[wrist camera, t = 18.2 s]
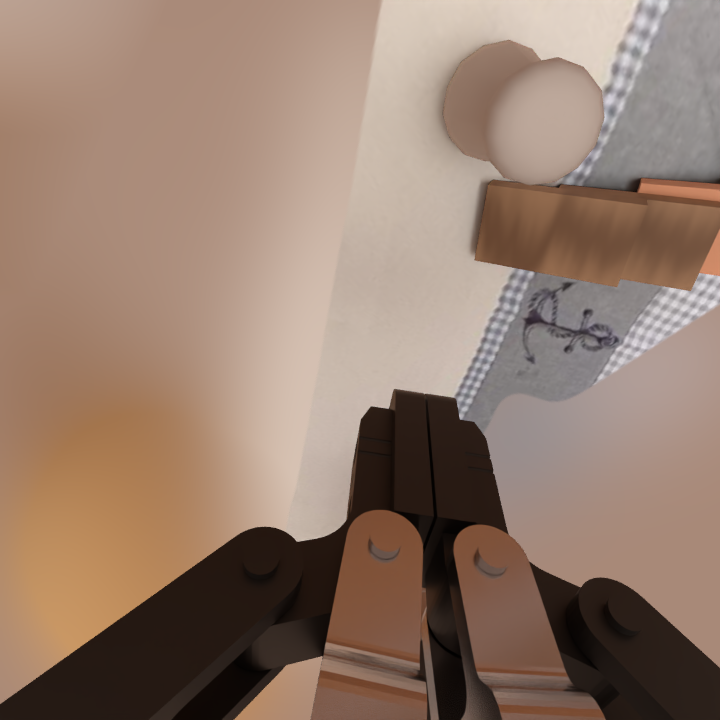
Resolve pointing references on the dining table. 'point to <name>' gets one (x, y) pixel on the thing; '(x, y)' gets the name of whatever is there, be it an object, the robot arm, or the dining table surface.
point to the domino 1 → (559, 231)
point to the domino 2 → (669, 238)
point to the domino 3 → (716, 260)
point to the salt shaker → (523, 112)
